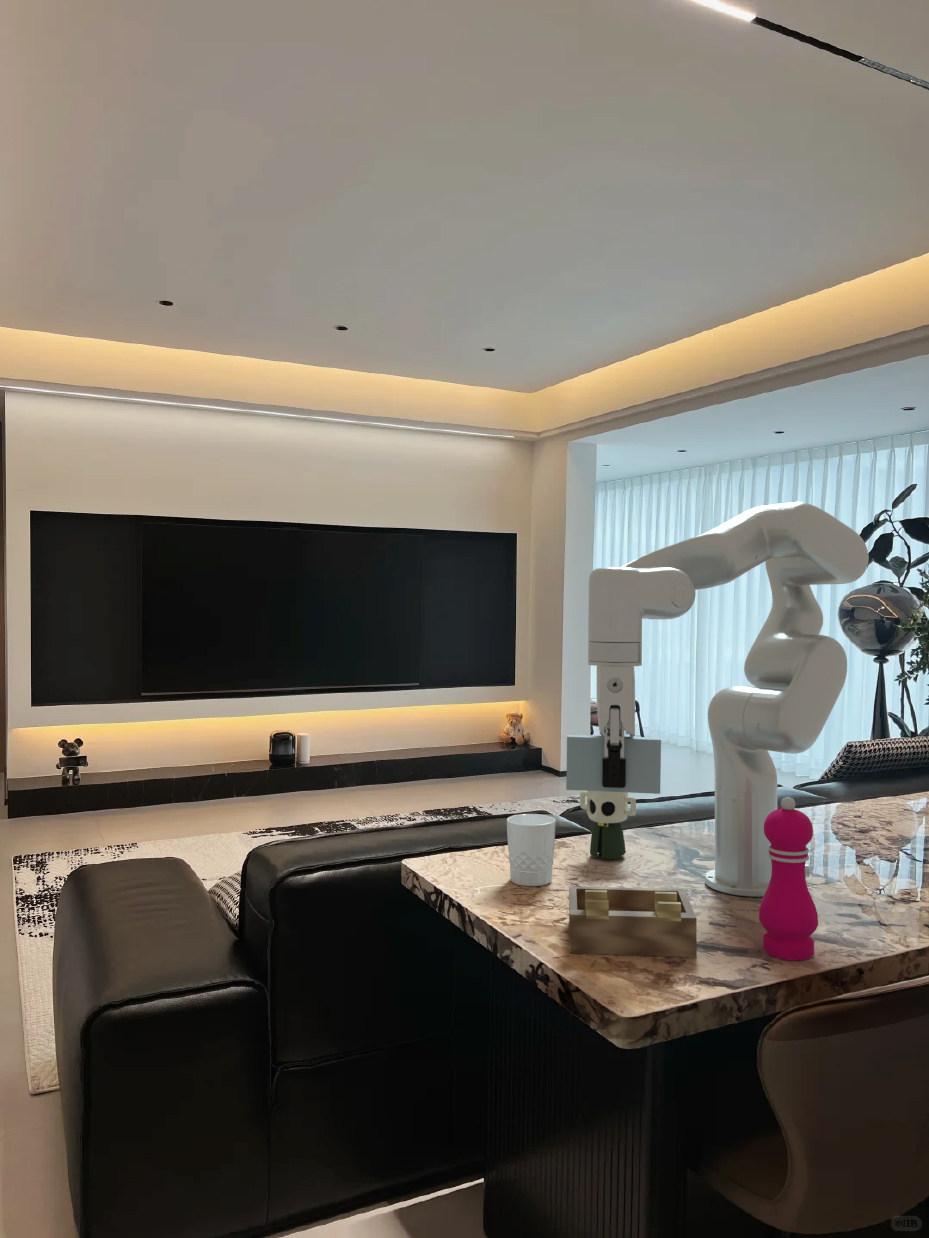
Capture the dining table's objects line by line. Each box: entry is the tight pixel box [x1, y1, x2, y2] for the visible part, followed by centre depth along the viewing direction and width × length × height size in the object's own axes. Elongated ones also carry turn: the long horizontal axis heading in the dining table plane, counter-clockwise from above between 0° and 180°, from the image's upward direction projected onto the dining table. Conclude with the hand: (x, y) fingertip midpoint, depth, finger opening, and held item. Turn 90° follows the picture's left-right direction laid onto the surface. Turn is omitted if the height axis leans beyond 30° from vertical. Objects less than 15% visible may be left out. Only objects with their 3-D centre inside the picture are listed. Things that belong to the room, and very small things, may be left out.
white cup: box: [506, 813, 556, 887], centre depth 151 cm, size 8×8×10 cm
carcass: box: [568, 885, 698, 958], centre depth 124 cm, size 16×13×7 cm
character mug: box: [579, 790, 637, 860], centre depth 165 cm, size 11×7×13 cm, turn 54°
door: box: [565, 734, 662, 795], centre depth 132 cm, size 13×2×8 cm, turn 81°
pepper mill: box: [758, 796, 819, 961], centre depth 120 cm, size 7×7×20 cm
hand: (613, 783), depth 132 cm, fingers closed on door, 2 cm apart
